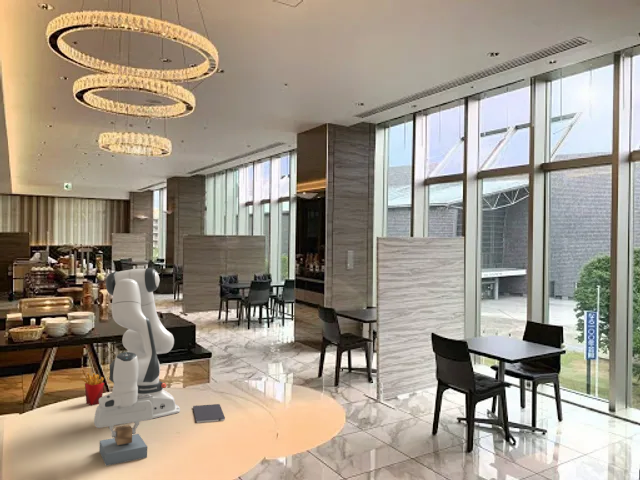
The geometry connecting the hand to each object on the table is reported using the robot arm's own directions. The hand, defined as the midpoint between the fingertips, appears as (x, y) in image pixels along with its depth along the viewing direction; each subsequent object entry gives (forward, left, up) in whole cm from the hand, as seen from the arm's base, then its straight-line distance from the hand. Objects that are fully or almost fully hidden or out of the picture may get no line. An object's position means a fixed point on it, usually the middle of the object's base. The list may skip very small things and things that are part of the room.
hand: (123, 435), depth 179 cm
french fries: (+1, -67, -7) cm, 67 cm away
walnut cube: (0, 0, -2) cm, 2 cm away
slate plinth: (0, 0, -7) cm, 7 cm away
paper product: (-43, -27, -8) cm, 51 cm away
